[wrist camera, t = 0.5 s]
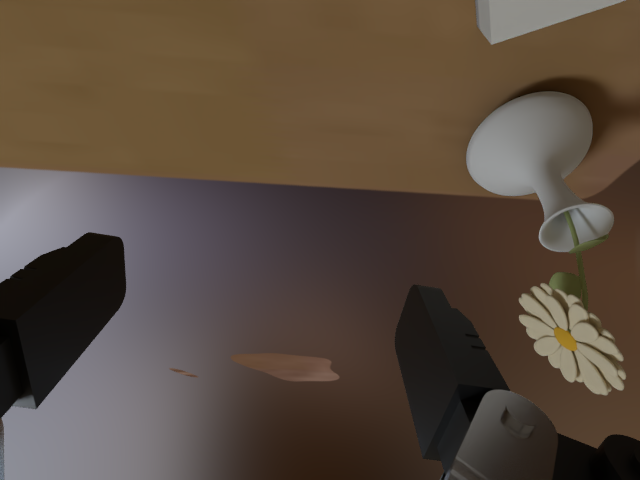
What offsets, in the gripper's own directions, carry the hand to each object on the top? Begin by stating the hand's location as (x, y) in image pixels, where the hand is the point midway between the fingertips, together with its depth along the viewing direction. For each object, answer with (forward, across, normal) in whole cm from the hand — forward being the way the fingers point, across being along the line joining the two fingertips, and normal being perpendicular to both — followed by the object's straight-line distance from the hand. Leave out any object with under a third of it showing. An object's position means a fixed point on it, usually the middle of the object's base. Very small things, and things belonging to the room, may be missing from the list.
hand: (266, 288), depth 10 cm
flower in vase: (+31, -22, -2) cm, 38 cm away
